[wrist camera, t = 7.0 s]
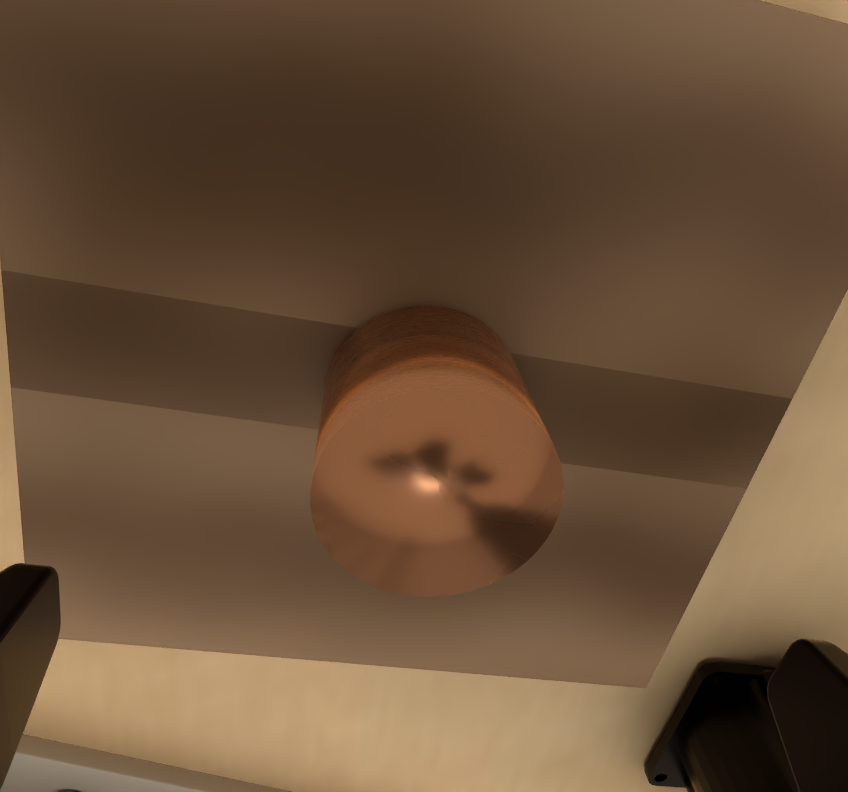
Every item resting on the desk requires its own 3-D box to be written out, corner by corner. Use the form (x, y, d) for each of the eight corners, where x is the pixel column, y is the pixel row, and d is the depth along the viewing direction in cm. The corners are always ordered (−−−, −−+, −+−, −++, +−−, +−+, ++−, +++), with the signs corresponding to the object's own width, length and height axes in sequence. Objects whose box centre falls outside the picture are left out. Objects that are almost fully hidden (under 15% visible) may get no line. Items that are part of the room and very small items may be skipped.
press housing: (601, 585, 22) (645, 688, 19) (91, 530, 20) (30, 636, 16) (826, 53, 15) (965, 55, 12) (76, -138, 13) (-38, -210, 9)
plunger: (468, 405, 18) (525, 607, 12) (322, 383, 18) (295, 583, 11) (506, 264, 17) (597, 409, 10) (345, 235, 16) (328, 368, 9)
